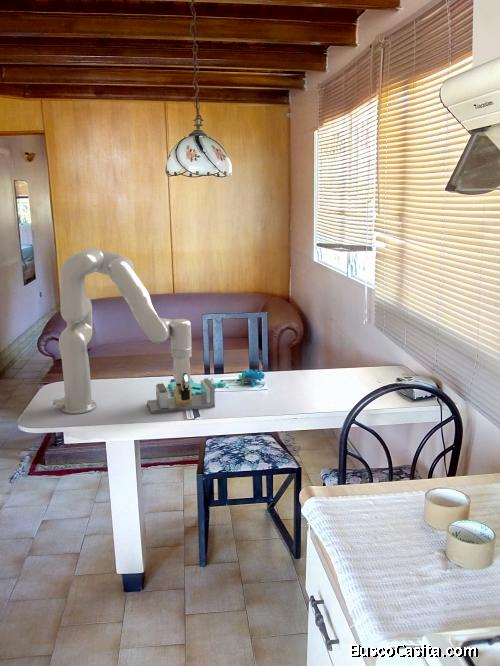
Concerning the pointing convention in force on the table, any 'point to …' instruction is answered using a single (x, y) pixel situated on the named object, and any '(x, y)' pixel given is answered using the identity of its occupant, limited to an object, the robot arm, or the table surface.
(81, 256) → the robot arm
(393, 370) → the table surface
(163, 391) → the sliding jaw
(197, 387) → the alien figure
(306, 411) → the table surface
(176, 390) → the brass block
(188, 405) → the vise bed
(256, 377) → the blue flower cluster
